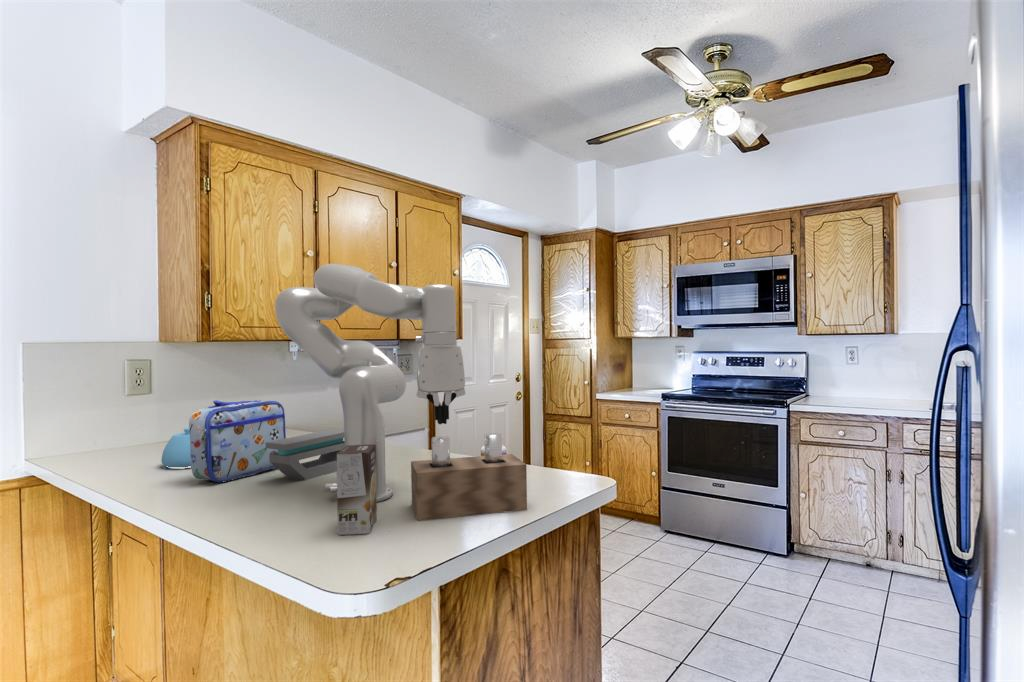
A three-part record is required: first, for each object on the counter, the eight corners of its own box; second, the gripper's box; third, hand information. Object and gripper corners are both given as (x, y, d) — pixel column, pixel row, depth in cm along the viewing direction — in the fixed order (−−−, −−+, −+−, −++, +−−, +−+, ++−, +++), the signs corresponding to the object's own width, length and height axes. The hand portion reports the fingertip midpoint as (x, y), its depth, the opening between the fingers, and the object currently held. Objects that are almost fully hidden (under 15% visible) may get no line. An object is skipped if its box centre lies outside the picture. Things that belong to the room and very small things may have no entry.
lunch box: (207, 489, 146) (206, 404, 146) (181, 485, 150) (180, 403, 150) (291, 466, 170) (289, 394, 170) (266, 464, 175) (265, 393, 175)
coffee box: (370, 534, 110) (369, 452, 110) (336, 535, 109) (335, 453, 109) (377, 519, 119) (376, 443, 119) (346, 520, 118) (345, 444, 118)
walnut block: (417, 520, 117) (416, 473, 117) (411, 504, 129) (411, 461, 129) (527, 509, 124) (526, 464, 124) (512, 495, 136) (511, 453, 136)
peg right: (487, 476, 126) (486, 436, 126) (483, 472, 129) (482, 433, 129) (504, 475, 127) (503, 435, 127) (499, 471, 131) (499, 432, 131)
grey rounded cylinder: (433, 481, 122) (432, 440, 122) (431, 476, 126) (430, 437, 126) (451, 479, 123) (451, 438, 123) (448, 475, 127) (448, 435, 127)
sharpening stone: (335, 463, 174) (334, 428, 174) (354, 466, 170) (353, 430, 170) (266, 482, 152) (265, 442, 152) (286, 485, 148) (285, 444, 148)
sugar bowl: (181, 460, 183) (180, 424, 183) (226, 459, 183) (225, 424, 183) (150, 470, 168) (149, 432, 168) (199, 470, 168) (198, 431, 168)
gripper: (407, 341, 119) (409, 428, 119) (476, 339, 123) (478, 423, 123) (403, 341, 126) (406, 423, 126) (469, 340, 130) (471, 419, 130)
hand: (441, 423), depth 125 cm, fingers closed
